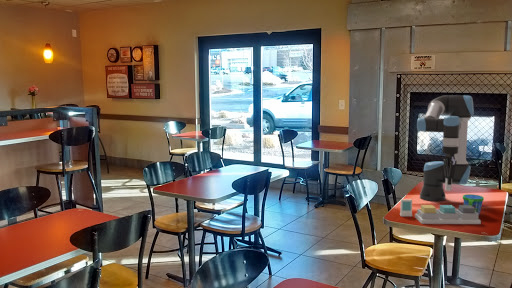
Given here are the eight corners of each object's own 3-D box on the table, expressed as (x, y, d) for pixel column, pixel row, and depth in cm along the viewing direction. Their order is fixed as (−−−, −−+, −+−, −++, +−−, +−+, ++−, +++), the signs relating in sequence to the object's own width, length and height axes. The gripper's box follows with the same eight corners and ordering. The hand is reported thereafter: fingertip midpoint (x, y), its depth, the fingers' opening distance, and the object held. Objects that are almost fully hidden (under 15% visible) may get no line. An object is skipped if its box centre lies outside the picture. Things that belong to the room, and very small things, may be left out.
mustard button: (420, 212, 252) (420, 204, 252) (431, 212, 252) (432, 205, 252) (424, 215, 246) (424, 207, 246) (435, 215, 246) (436, 208, 246)
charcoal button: (458, 212, 251) (458, 205, 251) (469, 212, 251) (470, 205, 251) (462, 215, 246) (463, 208, 245) (474, 215, 245) (474, 208, 245)
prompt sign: (399, 214, 261) (400, 198, 259) (410, 214, 260) (411, 198, 259) (401, 216, 258) (401, 200, 256) (412, 216, 257) (412, 200, 256)
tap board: (414, 217, 256) (415, 208, 255) (471, 217, 255) (471, 208, 254) (421, 223, 244) (422, 214, 243) (480, 224, 243) (481, 214, 242)
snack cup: (478, 219, 251) (479, 200, 250) (457, 215, 258) (458, 197, 256) (486, 213, 263) (487, 195, 262) (466, 209, 270) (467, 192, 268)
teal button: (439, 212, 252) (439, 205, 251) (450, 212, 252) (451, 205, 251) (443, 215, 246) (443, 208, 245) (455, 215, 246) (455, 208, 245)
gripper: (438, 144, 251) (436, 187, 254) (447, 147, 238) (445, 193, 241) (453, 144, 250) (450, 187, 253) (462, 147, 237) (460, 193, 240)
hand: (448, 190), depth 247 cm, fingers closed
